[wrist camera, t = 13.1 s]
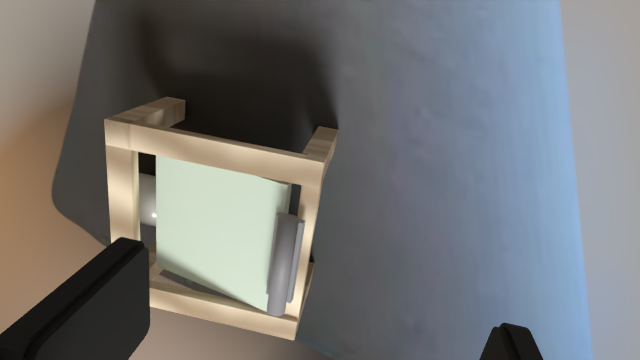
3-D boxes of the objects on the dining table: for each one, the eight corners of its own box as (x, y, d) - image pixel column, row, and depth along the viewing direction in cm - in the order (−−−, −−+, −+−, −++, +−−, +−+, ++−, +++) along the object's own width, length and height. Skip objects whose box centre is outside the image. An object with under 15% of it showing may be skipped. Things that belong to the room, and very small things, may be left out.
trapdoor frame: (166, 96, 41) (104, 118, 32) (338, 129, 40) (324, 162, 31) (165, 244, 48) (114, 297, 39) (312, 277, 47) (294, 340, 38)
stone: (179, 176, 41) (133, 165, 42) (161, 224, 40) (114, 213, 40) (194, 191, 46) (153, 181, 47) (178, 234, 45) (136, 224, 45)
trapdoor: (163, 141, 36) (136, 150, 34) (315, 188, 32) (298, 203, 29) (163, 260, 42) (140, 277, 39) (294, 314, 37) (278, 337, 34)
